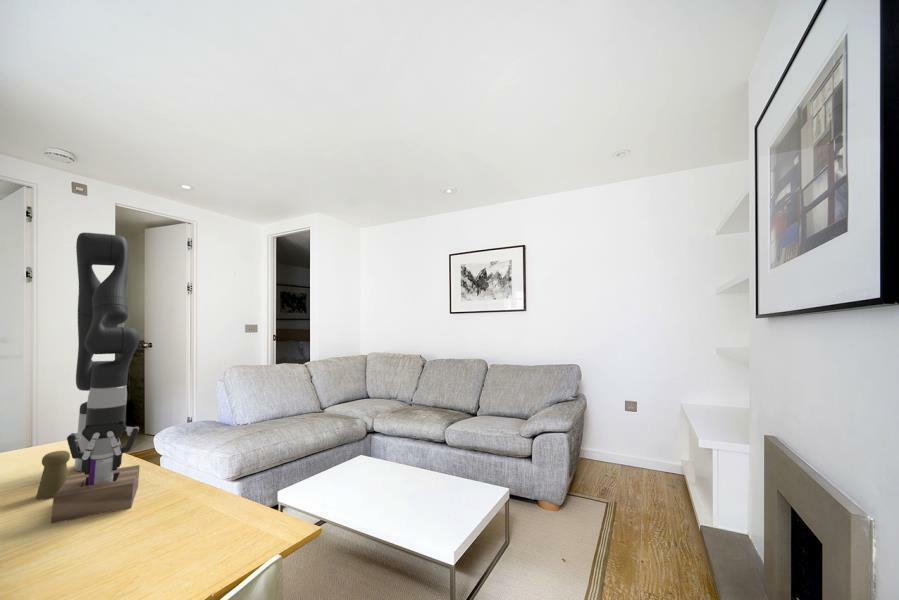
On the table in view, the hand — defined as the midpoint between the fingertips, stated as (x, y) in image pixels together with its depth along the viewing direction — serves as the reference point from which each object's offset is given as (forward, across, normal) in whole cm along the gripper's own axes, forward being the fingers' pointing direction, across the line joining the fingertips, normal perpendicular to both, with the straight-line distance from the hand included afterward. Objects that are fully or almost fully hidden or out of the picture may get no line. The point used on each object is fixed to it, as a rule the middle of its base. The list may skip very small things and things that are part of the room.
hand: (101, 471), depth 94 cm
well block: (+8, 0, 0) cm, 8 cm away
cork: (+8, +11, -13) cm, 19 cm away
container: (+7, 0, 0) cm, 7 cm away
